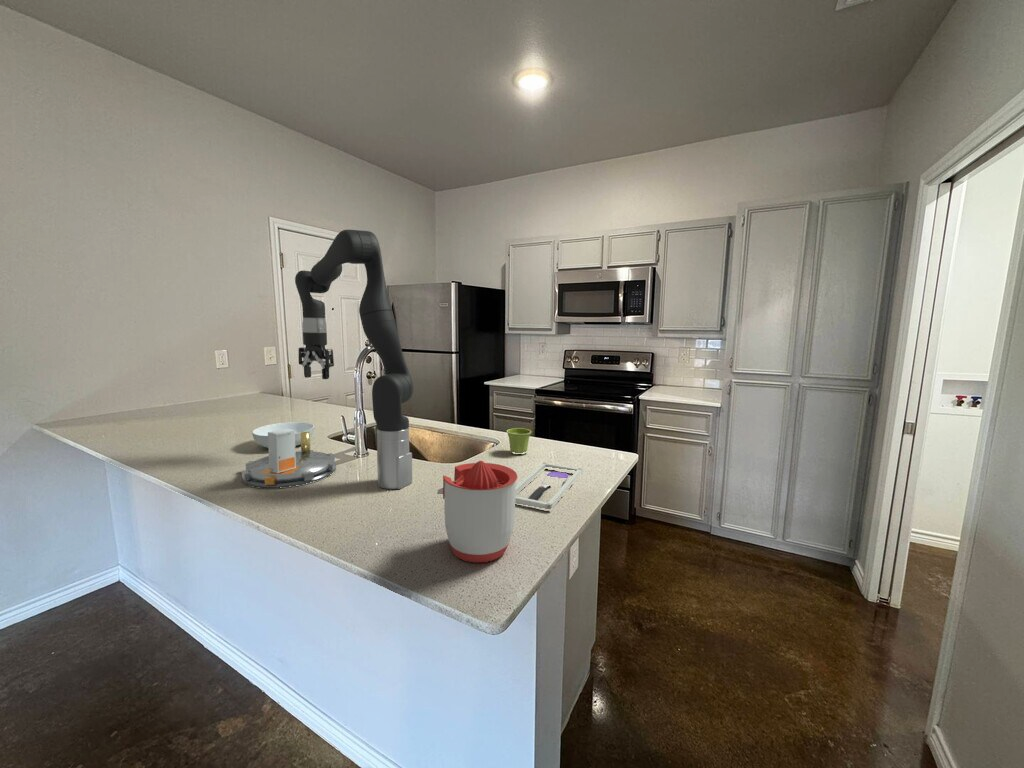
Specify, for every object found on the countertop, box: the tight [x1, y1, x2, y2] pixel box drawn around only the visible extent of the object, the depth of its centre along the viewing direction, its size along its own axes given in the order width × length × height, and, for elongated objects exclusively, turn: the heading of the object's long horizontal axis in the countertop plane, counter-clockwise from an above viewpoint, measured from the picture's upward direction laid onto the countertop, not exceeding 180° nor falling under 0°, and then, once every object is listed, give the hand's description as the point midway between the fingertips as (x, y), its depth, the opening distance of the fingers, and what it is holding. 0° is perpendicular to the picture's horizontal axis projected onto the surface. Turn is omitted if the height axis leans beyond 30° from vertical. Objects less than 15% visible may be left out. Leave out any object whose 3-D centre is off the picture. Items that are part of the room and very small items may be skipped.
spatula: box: [528, 471, 569, 501], centre depth 124 cm, size 24×7×2 cm, turn 152°
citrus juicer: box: [436, 460, 518, 563], centre depth 90 cm, size 16×17×20 cm
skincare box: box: [268, 428, 296, 473], centre depth 125 cm, size 6×4×12 cm
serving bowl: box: [251, 421, 315, 448], centre depth 161 cm, size 21×21×7 cm
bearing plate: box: [242, 461, 337, 489], centre depth 133 cm, size 26×26×1 cm
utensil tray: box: [515, 462, 583, 509], centre depth 127 cm, size 13×31×2 cm, turn 156°
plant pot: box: [506, 427, 532, 453], centre depth 159 cm, size 9×9×9 cm
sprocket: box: [241, 432, 337, 485], centre depth 132 cm, size 27×27×9 cm
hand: (316, 378), depth 146 cm, fingers open, 8 cm apart
